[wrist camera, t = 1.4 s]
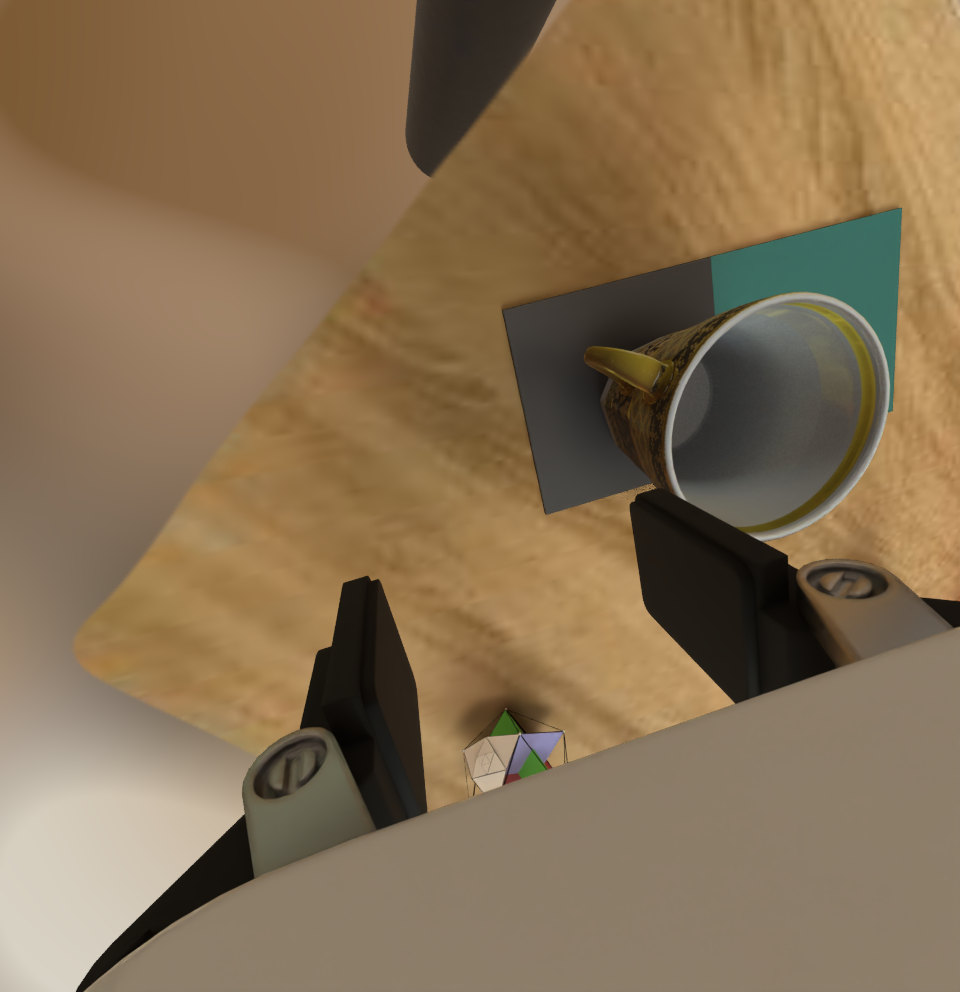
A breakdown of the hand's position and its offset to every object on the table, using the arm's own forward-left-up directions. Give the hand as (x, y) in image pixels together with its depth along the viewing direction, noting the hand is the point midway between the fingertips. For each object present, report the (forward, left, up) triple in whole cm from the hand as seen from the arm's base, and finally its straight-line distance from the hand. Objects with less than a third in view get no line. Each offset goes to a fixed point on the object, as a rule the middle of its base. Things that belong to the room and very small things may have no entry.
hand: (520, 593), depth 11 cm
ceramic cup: (0, +12, -18) cm, 21 cm away
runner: (0, +17, -18) cm, 24 cm away
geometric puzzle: (+21, -1, -18) cm, 28 cm away
